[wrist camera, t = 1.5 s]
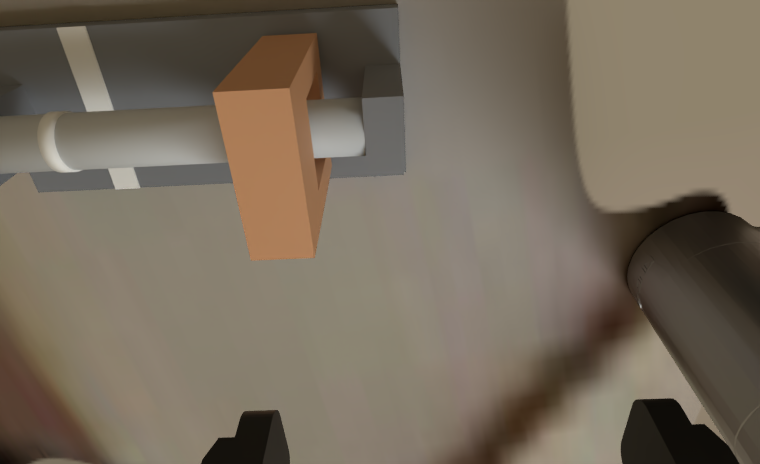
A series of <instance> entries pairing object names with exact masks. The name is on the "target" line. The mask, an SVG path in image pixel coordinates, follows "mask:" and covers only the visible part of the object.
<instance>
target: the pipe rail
mask: <svg viewBox="0 0 760 464" xmlns="http://www.w3.org/2000/svg"><path fill="white" fill-rule="evenodd" d="M306 33H317V39H318V48H319V57H320V66H321V74H322V83H323V92H324V99H319V100H306V101H307V109H308V116H309V124H310V131H311V139H312V146H313V153H314V158H331V162H332V169H331V174H330V178H347V177H367V176H388V175H404V172H406V157H405V125H404V95H403V86H402V77H401V68H400V49H399V19H398V4H386V5H369V6H352V7H335V8H318V9H301V10H284V11H267V12H250V13H233V14H216V15H199V16H182V17H165V18H148V19H131V20H114V21H97V22H80V23H63V24H46V25H29V26H12V27H0V185H2V184H3V183H4V182H6V181H7V180H8V179H10V178H11V177H12V176H14V175H15V174H16V173H28V172H29V173H30V175H31V177H32V179H33V182H34V184H35V186H36V188H37V190H38V192H56V191H77V190H98V189H133V188H140V187H160V186H181V185H202V184H222V183H233V180H232V175H231V171H230V167H229V162H228V158H227V154H226V149H225V145H224V141H223V136H222V132H221V128H220V123H219V119H218V115H217V110H216V106H215V102H214V97H213V93H212V92H213V91H214V90H215V89H216V88H217V86H218V85H219V84H220V83H221V82H222V81H223V80H224V79H225V77H226V76H227V75H228V74H229V73H230V72H231V71H232V70H233V68H234V67H235V66H236V65H237V64H238V63H239V62H240V61H241V60H242V58H243V57H244V56H245V55H246V54H247V53H248V52H249V51H250V49H251V48H252V47H253V46H254V45H255V44H256V43H257V42H258V40H259V39H260V38H261V37H262V36H271V35H289V34H306Z"/></svg>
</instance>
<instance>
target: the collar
mask: <svg viewBox="0 0 760 464" xmlns="http://www.w3.org/2000/svg"><path fill="white" fill-rule="evenodd" d="M212 93H213V97H214V102H215V106H216V110H217V115H218V119H219V123H220V128H221V132H222V136H223V141H224V145H225V149H226V154H227V158H228V162H229V167H230V171H231V175H232V180H233V184H234V188H235V193H236V197H237V201H238V206H239V210H240V215H241V219H242V223H243V228H244V232H245V236H246V241H247V245H248V249H249V254H250V258H251V260H274V259H297V258H315V253H316V248H317V243H318V237H319V232H320V227H321V222H322V216H323V211H324V206H325V200H326V195H327V190H328V184H329V179H330V174H331V169H332V162H331V158H314V153H313V146H312V139H311V131H310V124H309V116H308V109H307V101H306V100H319V99H324V92H323V83H322V74H321V66H320V57H319V48H318V39H317V33H306V34H289V35H271V36H262V37H261V38H260V39H259V40H258V42H257V43H256V44H255V45H254V46H253V47H252V48H251V49H250V51H249V52H248V53H247V54H246V55H245V56H244V57H243V58H242V60H241V61H240V62H239V63H238V64H237V65H236V66H235V67H234V68H233V70H232V71H231V72H230V73H229V74H228V75H227V76H226V77H225V79H224V80H223V81H222V82H221V83H220V84H219V85H218V86H217V88H216V89H215V90H214V91H213V92H212Z"/></svg>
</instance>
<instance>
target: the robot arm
mask: <svg viewBox="0 0 760 464" xmlns="http://www.w3.org/2000/svg"><path fill="white" fill-rule="evenodd" d="M627 281H628V287H629V289H630V291H631V293H632V295H633V297H634V298H635V300H636V301H637V303H638V305H639V307H640V308H641V309H642V311H643V312H644V314H645V315H646V317H647V319H648V320H649V322H650V323H651V325H652V327H653V328H654V330H655V332H656V333H657V335H658V336H659V338H660V339H661V341H662V343H663V344H664V346H665V347H666V349H667V350H668V352H669V354H670V355H671V357H672V358H673V360H674V361H675V363H676V364H677V366H678V368H679V369H680V371H681V372H682V374H683V375H684V377H685V379H686V380H687V382H688V383H689V385H690V386H691V388H692V390H693V391H694V393H695V394H696V396H697V397H698V399H699V401H700V402H701V404H702V405H703V407H704V408H705V410H706V411H707V413H708V415H709V416H710V418H711V419H712V421H713V422H714V424H715V425H716V427H717V429H718V430H719V432H720V433H721V435H722V436H723V438H724V440H725V441H726V443H727V444H728V445H727V444H726V443H725V442H724V441H723V440H721V439H720V438H719V437H718V436H717V435H716V434H715V433H714V432H713V431H712V430H710V429H709V428H708V427H707V426H706V425H705V424H696V425H692V424H691V423H690V421H689V419H688V417H687V416H686V414H685V412H684V411H683V409H682V407H681V406H680V404H679V403H678V402H677V401H676V400H674V399H671V398H670V399H640V400H635V401H634V402H633V405H632V408H631V411H630V415H629V418H628V421H627V425H626V428H625V431H624V435H623V438H622V442H621V457H622V463H623V464H760V227H754V226H752V225H750V224H749V223H747V222H746V221H745V220H743V219H742V218H741V217H738V216H736V215H733V214H731V213H725V212H719V211H707V212H699V213H694V214H689V215H686V216H683V217H680V218H678V219H675V220H673V221H671V222H669V223H667V224H665V225H664V226H662V227H660V228H659V229H657V230H656V231H655V232H654V233H652V234H651V235H650V236H648V237H647V239H646V240H645V241H644V242H643V243H642V244H641V245H640V246H639V247H638V249H637V250H636V252H635V254H634V255H633V257H632V259H631V262H630V264H629V267H628V274H627ZM738 461H739V462H738ZM201 464H290V456H289V449H288V445H287V441H286V437H285V433H284V429H283V425H282V421H281V417H280V413H279V411H278V410H266V411H245V412H243V414H242V416H241V418H240V421H239V425H238V428H237V432H236V435H235V437H232V438H218V440H217V441H216V442H215V444H214V445H213V446H212V448H211V449H210V450H209V452H208V453H207V454H206V456H205V457H204V458H203V460H202V463H201Z"/></svg>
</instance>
